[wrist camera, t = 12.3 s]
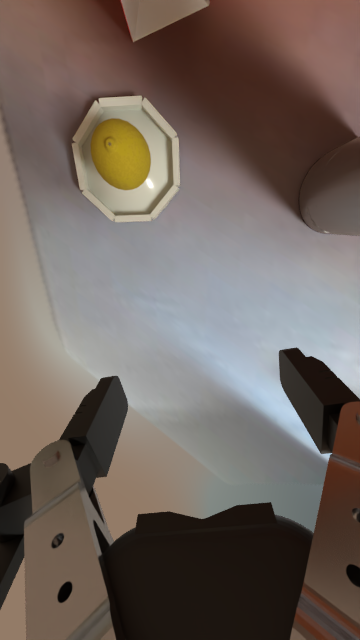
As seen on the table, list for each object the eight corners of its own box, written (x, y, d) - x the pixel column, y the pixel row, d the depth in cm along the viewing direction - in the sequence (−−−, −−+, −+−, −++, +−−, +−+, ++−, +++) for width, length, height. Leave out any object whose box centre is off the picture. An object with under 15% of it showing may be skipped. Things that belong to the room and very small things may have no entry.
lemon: (99, 175, 26) (65, 154, 19) (122, 126, 25) (94, 82, 17) (139, 205, 27) (122, 196, 20) (164, 160, 26) (155, 132, 18)
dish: (121, 76, 24) (116, 64, 22) (200, 165, 26) (201, 161, 25) (63, 171, 27) (54, 168, 25) (138, 241, 30) (135, 242, 28)
